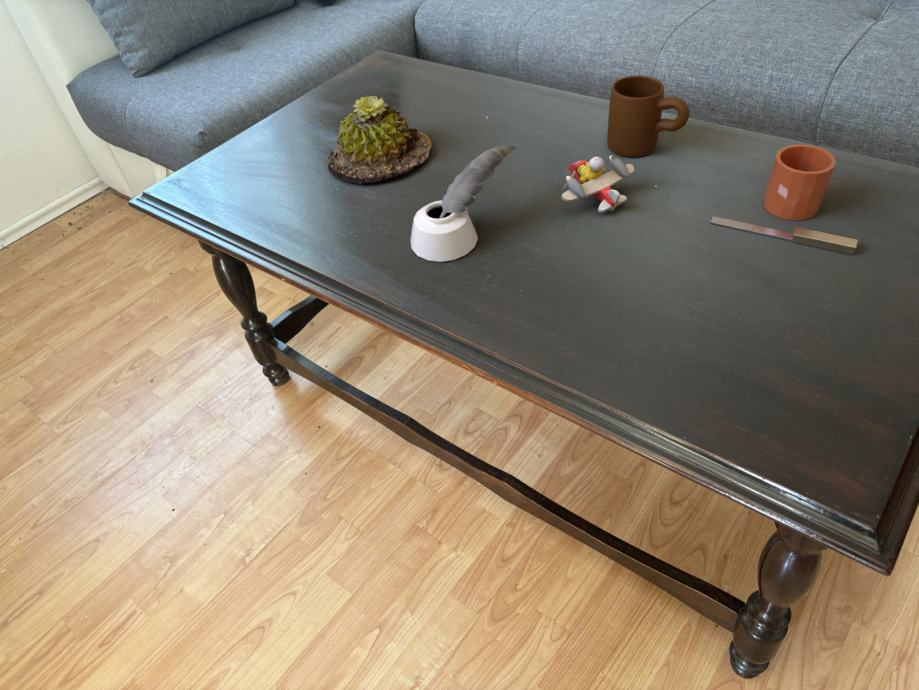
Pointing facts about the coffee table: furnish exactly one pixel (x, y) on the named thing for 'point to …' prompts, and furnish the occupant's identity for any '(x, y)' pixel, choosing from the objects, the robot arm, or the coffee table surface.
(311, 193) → the coffee table surface
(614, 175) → the toy airplane
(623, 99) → the mug
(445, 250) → the inkwell
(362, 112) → the cactus
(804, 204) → the pot
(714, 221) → the knife
